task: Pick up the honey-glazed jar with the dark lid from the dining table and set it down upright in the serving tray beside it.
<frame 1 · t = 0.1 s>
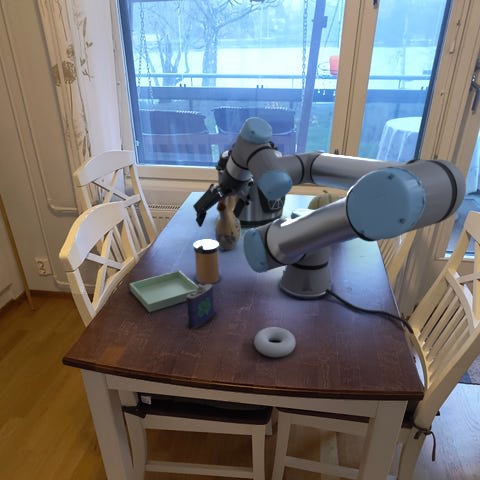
hand: (217, 219, 133), 15 cm above the table, tool tilted 35°, fingers open, 13 cm apart
pressure cooker: (252, 218, 179), on the table
serving tray: (165, 293, 124), on the table
ceramic vessel: (228, 248, 152), on the table
flask: (202, 321, 112), on the table
jar: (207, 278, 132), on the table
donut: (274, 348, 103), on the table
cantaloupe: (324, 230, 167), on the table
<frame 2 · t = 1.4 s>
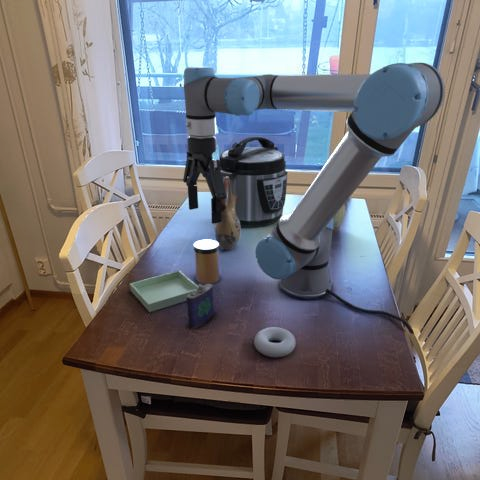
hand: (204, 215, 121), 20 cm above the table, tool pointing down, fingers open, 13 cm apart
nothing on the table moved.
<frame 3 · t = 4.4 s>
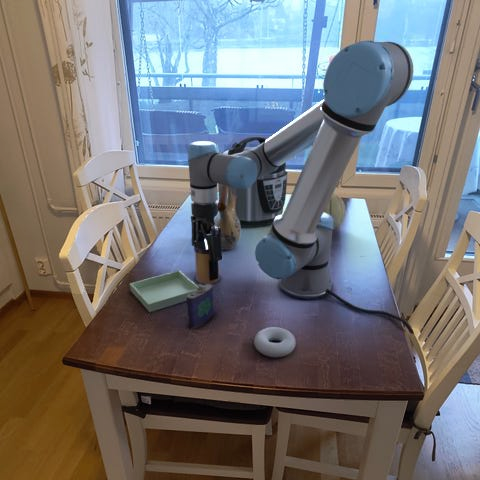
hand: (207, 274, 131), 2 cm above the table, tool pointing down, fingers closed on jar, 7 cm apart
jar: (207, 278, 132), on the table, touching gripper
everything else where it was.
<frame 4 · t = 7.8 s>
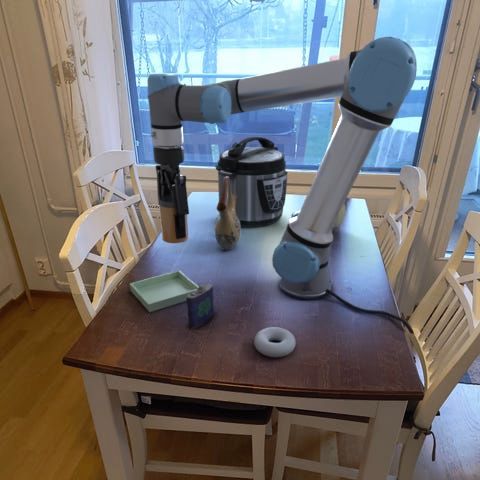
hand: (174, 232, 118), 17 cm above the table, tool pointing down, fingers closed on jar, 7 cm apart
jar: (175, 238, 119), point 16 cm above the table, touching gripper
everything else where it was.
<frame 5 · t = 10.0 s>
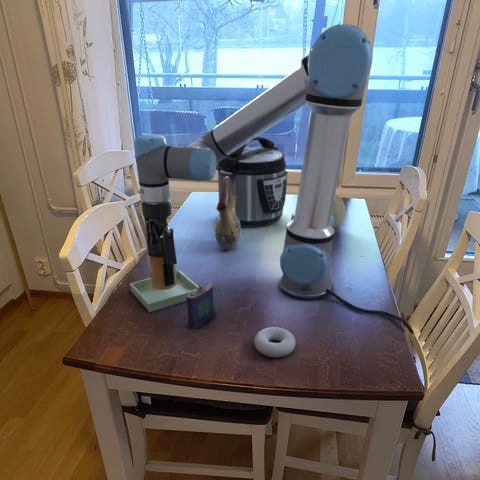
hand: (163, 279, 122), 5 cm above the table, tool pointing down, fingers closed on jar, 7 cm apart
jar: (164, 283, 123), point 3 cm above the table, touching gripper
everything else where it was.
when the fingers open (2 cm above the table, at t = 11.3 s): jar stays where it is, resting on serving tray.
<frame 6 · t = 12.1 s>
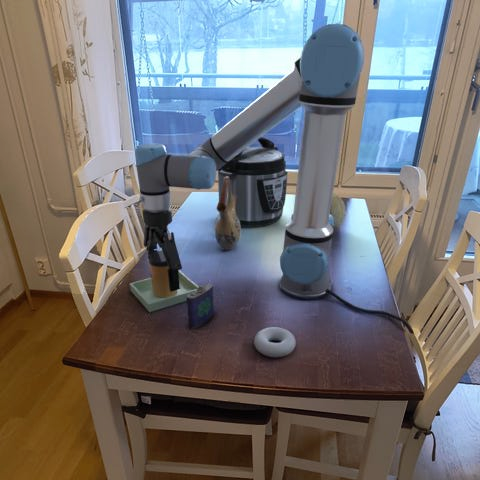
hand: (164, 280, 122), 4 cm above the table, tool pointing down, fingers open, 13 cm apart
jar: (165, 291, 124), resting on serving tray
everything else where it was.
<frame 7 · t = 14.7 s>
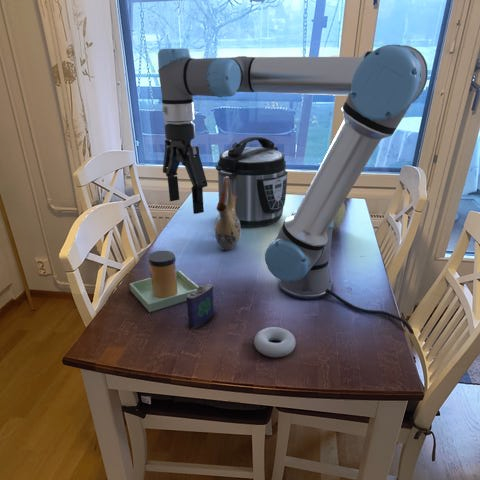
hand: (186, 206, 117), 24 cm above the table, tool pointing down, fingers open, 13 cm apart
nothing on the table moved.
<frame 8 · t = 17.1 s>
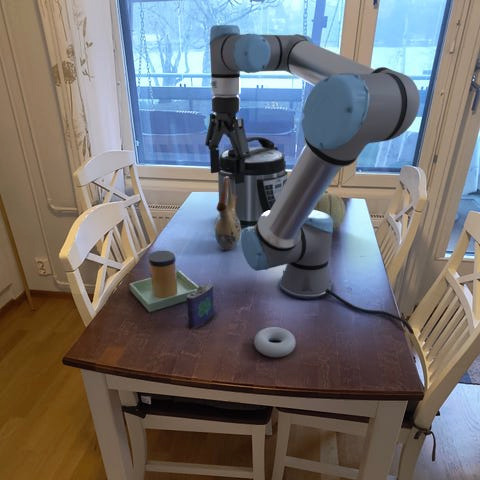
hand: (226, 177, 124), 29 cm above the table, tool pointing down, fingers open, 13 cm apart
nothing on the table moved.
at the end: jar inside the target area in the serving tray (0.0 cm from its centre), point 0.5 cm above the serving tray's base; jar tilted 0°; the gripper is holding nothing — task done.
